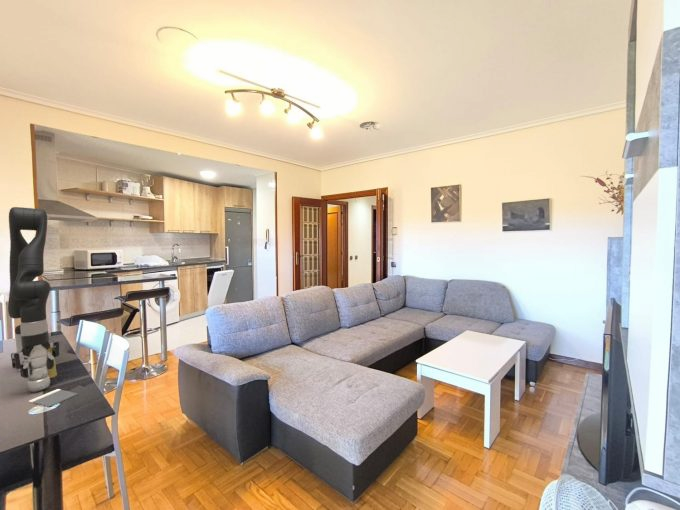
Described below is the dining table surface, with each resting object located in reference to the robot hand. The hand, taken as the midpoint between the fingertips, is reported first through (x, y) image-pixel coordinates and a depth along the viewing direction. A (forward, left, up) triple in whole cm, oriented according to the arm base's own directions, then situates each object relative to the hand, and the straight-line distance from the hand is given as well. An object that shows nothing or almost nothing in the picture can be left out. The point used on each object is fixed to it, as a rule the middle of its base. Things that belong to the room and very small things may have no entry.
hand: (38, 372), depth 119 cm
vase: (-10, +8, -7) cm, 15 cm away
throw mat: (+13, -2, -7) cm, 15 cm away
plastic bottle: (0, 0, -7) cm, 7 cm away
